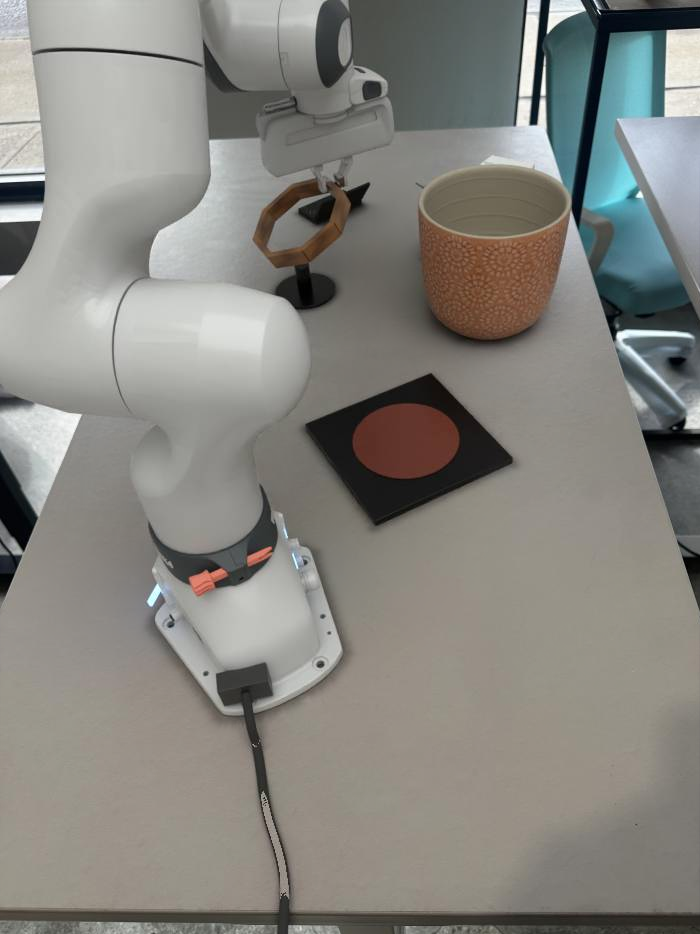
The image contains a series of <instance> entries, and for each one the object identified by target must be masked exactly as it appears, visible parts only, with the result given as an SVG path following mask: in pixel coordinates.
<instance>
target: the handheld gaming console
mask: <svg viewBox="0 0 700 934" xmlns="http://www.w3.org/2000/svg"><path fill="white" fill-rule="evenodd" d="M370 186H371V182H370V181H368V182H364V183H362V184H361V185H358V186H356V187H354V188H351V189H349V190H345V189H342V190H343V191H344V193H345V194H346V196H347V198H348V199H349V201H350V203H351V206H350V209H349V211H351V210H352V209H355V208H358V207H360V206H362V205H363V199H364V197H365V195H366V193H367V192H368V190H369V188H370ZM335 201H336V198H335V197H333V196H332V195H331V194H328V195H327V196H324V197H322V198H320V199H317V200H315V201H313V202H309V203H308V204H306V205H303V206H300V207H299V208H298V209H297V211H298V214H299V215H300V216H301V217H304V218H305V219H307V220H309V221H310V222H311V223H313V224H314V225H318V224H322V223H323V222H325V221H328V220H330V218H331V215H332V211H333V208H334V205H335Z"/></svg>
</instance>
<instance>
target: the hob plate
mask: <svg viewBox="0 0 700 934" xmlns="http://www.w3.org/2000/svg"><path fill="white" fill-rule="evenodd" d="M304 426H305V430H306V431H307V432H308V434H309V436H310V437H311V438H312V440H313V441H314V442H315V443H316V445H317V446H318V448H319V449H320V450H321V452H322V453H323V455H324V456H325V458H326V459H327V460H328V461H329V463H330V464H331V466H332V467H333V468H334V470H335V472H336V473H337V474H338V476H339V478H341V479H342V481H343V482H344V484H345V485H346V487H347V488H348V489H349V491H350V492H351V493H352V495H353V497H354V498H355V499H356V501H357V502H358V503H359V505H360V506H361V507H362V509H363V510H364V511H365V513H366V514H367V515H368V518H370V520H371V521H372V523H373V524H374V526H379V525H381V524H383V523H387V522H388V521H390V520H392V519H394V518H396V517H399V516H400V515H403V514H405V513H408V512H410V511H411V510H414V509H417V508H418V507H420V506H423V505H425V504H427V503H429V502H431V501H433V500H436V499H437V498H439V497H442V496H444V495H446V494H448V493H450V492H453V491H455V490H457V489H459V488H462V487H464V486H465V485H467V484H471V483H472V482H474V481H476V480H480V479H482V478H483V477H485V476H487V475H489V474H492V473H494V472H496V471H498V470H500V469H502V468H504V467H507V466H508V465H511V464H513V462H514V457H513V456H512V455H511V454H510V453H509V452H508V451H507V450H506V449H505V448H504V447H503V446H502V445H501V444H500V443H499V441H498V440H496V438H495V437H494V436H493V435H492V434H491V433H490V432H489V431H488V430H487V429H486V428H485V427H484V425H482V424H481V423H480V422H479V420H477V419H476V418H475V417H474V416H473V414H471V413H470V411H469V410H468V409H467V408H466V407H464V405H463V404H462V403H461V402H460V401H459V400H458V399H457V398H456V397H455V396H454V395H453V394H452V393H451V392H450V390H448V388H446V387H445V386H444V385H443V383H442V382H440V380H438V378H436V376H435V374H433V373H432V372H430V373H428V374H424V375H422V376H420V377H418V378H415V379H412V380H410V381H408V382H405V383H402V384H400V385H398V386H396V387H393V388H390V389H388V390H385V391H383V392H380V393H378V394H376V395H373V396H371V397H368V398H366V399H363V400H360V401H358V402H355V403H353V404H351V405H348V406H346V407H343V408H341V409H338V410H335V411H334V412H330V413H328V414H326V415H323V416H321V417H319V418H316V419H313V420H311V421H309V422H305V425H304Z"/></svg>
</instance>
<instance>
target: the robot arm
mask: <svg viewBox="0 0 700 934" xmlns="http://www.w3.org/2000/svg"><path fill="white" fill-rule="evenodd" d="M25 1H26V2H25V3H26V14H27V15H26V16H27V26H28V35H29V43H30V51H31V52H30V53H31V59H32V65H33V73H34V79H35V87H36V94H37V95H36V96H37V105H38V113H39V120H40V130H41V141H42V152H43V153H42V154H43V165H44V196H43V197H44V198H43V204H42V211H41V216H40V221H39V226H38V229H37V233H36V236H35V238H34V241H33V244H32V247H31V250H30V252H29V253H28V255H27V258H26V260H25V261H24V263H23V264H22V266H21V267H20V269H19V270H18V271H17V273H16V274H15V275H14V276H13V277H12V278H11V279H10V280H9V281H8V282H7V283H6V284H4V286H2V287H1V288H0V385H1V386H2V388H4V389H5V390H6V391H7V392H8V393H9V394H11V395H13V396H15V397H16V398H19V399H22V400H25V401H29V402H31V403H34V404H37V405H40V406H44V407H47V408H50V409H53V410H56V411H60V412H64V413H67V414H74V415H87V416H96V417H107V418H108V417H109V418H120V419H130V420H140V421H142V422H147V423H151V424H155V425H153V427H151V428H150V429H149V430H148V431H147V432H146V433H145V434H144V435H142V436H141V438H140V439H139V441H138V442H137V444H136V445H135V447H134V449H133V452H132V455H131V459H130V466H129V478H130V483H131V486H132V488H133V490H134V493H135V494H136V497H137V499H138V501H139V503H140V505H141V508H142V509H143V512H144V514H145V516H146V518H147V520H148V521H147V524H148V526H147V527H148V531H149V535H150V538H151V542H152V544H153V547H154V548H155V551H156V553H157V557H156V559H155V561H154V564H153V566H152V569H151V573H152V576H153V578H154V580H155V582H156V585H155V587H154V588H153V591H152V592H151V593H150V596H149V597H148V600H146V601H147V604H148V605H149V607H153V606H154V604H155V602H156V600H157V598H158V597H159V595H160V593H161V595H162V596H163V599H164V603H162V605H161V606H160V608H159V609H158V610H157V612H156V614H155V616H154V622H155V626H156V628H157V629H158V631H159V632H160V633H161V635H162V636H163V638H164V639H165V640H166V642H167V643H168V644H169V646H170V647H171V648H172V650H173V651H174V652H175V653H176V655H177V657H178V658H179V659H180V661H181V662H182V663H183V664H184V665H185V667H186V668H187V670H188V671H189V672H190V673H191V675H192V676H193V678H194V679H195V680H196V682H197V683H198V684H199V686H200V688H202V690H203V691H204V692H205V694H206V695H207V696H208V698H209V699H210V700H211V702H212V703H213V704H214V706H215V707H216V708H217V710H218V712H220V713H221V714H223V715H224V716H235V717H238V716H239V717H240V716H244V722H245V727H246V731H247V734H248V735H247V736H248V738H249V741H250V745H251V750H252V755H253V760H254V768H255V775H256V776H255V777H256V784H257V792H258V798H259V803H260V804H259V805H260V809H261V814H262V818H263V822H264V826H265V830H266V832H267V836H268V838H269V842H270V845H271V848H272V852H273V855H274V858H275V864H276V869H277V876H278V884H279V888H280V872H279V866H278V861H277V857H276V853H275V849H274V846H273V843H272V840H271V836H270V833H269V830H268V827H267V824H266V820H265V816H264V812H263V807H262V801H261V794H262V792H263V791H264V793H265V795H266V797H267V800H268V804H269V808H270V812H271V816H272V820H273V823H274V826H275V829H276V832H277V835H278V838H279V842H280V845H281V848H282V852H283V856H284V860H285V865H286V872H287V878H288V885H289V894H290V895H291V880H290V871H289V865H288V861H287V855H286V852H285V848H284V844H283V842H282V838H281V835H280V832H279V829H278V825H277V823H276V820H275V817H274V812H273V809H272V803H271V798H270V793H269V792H270V791H269V786H268V778H267V771H266V764H265V758H264V757H265V756H264V752H263V747H262V742H261V738H260V735H259V732H258V728H257V723H256V719H255V714H257V713H262V712H263V711H267V710H270V709H273V708H275V707H277V706H280V705H282V704H284V703H286V702H288V701H291V700H293V699H294V698H296V697H298V696H300V695H301V694H303V693H305V692H307V691H308V690H310V689H311V688H313V687H314V686H316V685H317V684H319V683H320V682H321V681H322V680H323V679H325V678H326V677H327V676H328V675H329V674H330V673H332V671H333V670H334V669H335V667H336V666H337V665H338V664H339V662H340V661H341V659H342V658H343V656H344V649H343V644H342V642H341V639H340V635H339V633H338V629H337V627H336V623H335V620H334V617H333V613H332V611H331V608H330V605H329V602H328V598H327V595H326V592H325V589H324V587H323V584H322V581H321V577H320V574H319V571H318V568H317V565H316V562H315V559H314V556H313V553H312V551H311V550H310V548H308V547H306V546H302V545H300V541H299V538H298V537H293V538H290V539H289V536H288V532H287V528H286V523H285V518H284V514H283V513H282V512H278V510H273V506H272V504H271V502H270V498H269V497H268V495H267V493H266V491H265V489H264V487H263V485H262V483H260V481H259V478H258V473H257V468H256V462H255V461H256V460H255V455H254V445H255V442H256V440H257V439H258V437H259V436H260V435H261V434H262V433H263V432H264V431H266V430H267V429H268V428H270V427H272V426H273V425H275V424H277V423H280V422H282V421H283V420H285V419H286V418H287V416H289V415H290V414H291V413H292V412H293V411H294V410H295V409H296V408H297V406H298V404H300V402H301V400H302V398H303V397H304V395H305V393H306V391H307V388H308V385H309V382H310V379H311V374H312V367H313V351H312V349H313V348H312V343H311V339H310V336H309V333H308V330H307V328H306V325H305V323H304V321H303V319H302V317H301V316H300V314H299V312H298V311H297V309H295V308H294V307H293V306H292V305H291V304H290V302H289V301H288V300H286V299H285V298H282V297H279V296H276V295H275V294H272V293H269V292H266V291H262V290H258V289H255V288H251V287H247V286H243V285H239V284H235V283H231V282H227V281H225V282H224V281H208V280H195V279H194V280H193V279H176V278H159V277H158V278H157V277H152V276H151V274H150V258H151V251H152V247H153V244H154V242H155V239H156V237H157V235H158V234H159V232H160V231H162V230H164V229H166V228H167V227H169V226H171V225H173V224H175V223H176V222H178V221H180V220H182V219H183V218H185V217H187V216H188V215H189V214H191V213H192V212H193V211H194V210H195V209H196V208H197V207H198V206H199V205H200V204H201V202H202V201H203V199H204V198H205V195H206V193H207V191H208V188H209V186H210V182H211V177H212V167H211V165H212V164H211V151H210V148H211V147H210V134H209V133H210V132H209V114H208V99H207V98H208V97H207V81H206V79H207V80H208V81H209V82H210V83H211V84H212V85H213V86H214V87H215V88H216V89H218V90H219V91H220V92H221V93H224V94H237V93H247V92H251V91H254V92H258V91H259V92H261V91H263V92H264V91H268V92H270V91H273V92H274V91H275V92H276V91H277V92H278V91H279V92H282V91H284V92H285V91H286V92H290V93H291V94H290V95H291V97H288V98H284V99H281V100H279V101H276V102H269V103H266V104H264V105H263V107H262V108H261V109H260V110H259V111H258V113H257V114H256V116H255V126H256V131H257V134H258V137H259V139H260V144H259V145H260V155H261V162H262V163H261V164H262V166H263V167H264V169H265V170H266V171H267V172H268V173H269V174H270V175H272V176H273V177H275V178H281V177H284V176H288V175H291V174H295V173H298V172H302V171H306V170H308V169H309V170H310V172H311V173H312V175H314V178H317V179H318V187H319V190H320V191H321V192H322V193H326V192H329V191H332V187H331V185H332V183H331V181H332V179H330V178H329V177H328V176H327V175H322V172H324V165H326V164H329V163H332V162H336V161H338V160H339V161H340V163H339V166H338V170H337V172H334V173H332V174H333V179H334V180H333V182H334V183H335V184H336V185H337V186H338V187H339V188H341V189H342V188H345V187H348V186H349V185H348V184H349V183H348V182H349V181H348V175H349V173H350V170H351V168H352V166H353V163H354V160H353V156H355V155H359V154H363V153H366V152H370V151H373V150H376V149H381V148H383V147H384V148H385V147H387V146H391V144H392V142H393V140H394V138H395V120H394V119H395V118H394V112H393V111H394V110H393V106H392V103H391V101H390V99H389V97H387V94H388V91H389V84H388V81H387V80H386V79H385V78H384V77H383V76H381V74H378V73H377V72H375V71H373V70H372V69H369V68H367V67H364V66H358V65H354V51H355V49H354V46H355V45H354V32H353V31H354V29H353V18H352V15H351V12H350V5H349V0H25ZM170 626H171V627H170ZM320 665H323V666H322V667H318V666H320ZM259 740H260V742H259ZM251 743H252V744H254V745H255V746H257V747H254V746H253V745H252V744H251ZM258 743H259V744H258ZM263 799H265V797H264V798H263ZM264 801H266V799H265V800H264ZM265 803H267V802H265ZM265 803H264V804H265ZM264 804H263V805H264ZM265 806H266V805H265ZM281 894H282V893H281ZM284 894H286V892H285V893H283V894H282V896H281V899H280V898H279V901H280V902H278V915H277V927H276V928H277V929H276V934H289V925H290V924H289V923H290V910H291V907H290V908H289V899H288V897H287V896H286V895H285V896H284Z"/></svg>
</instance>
